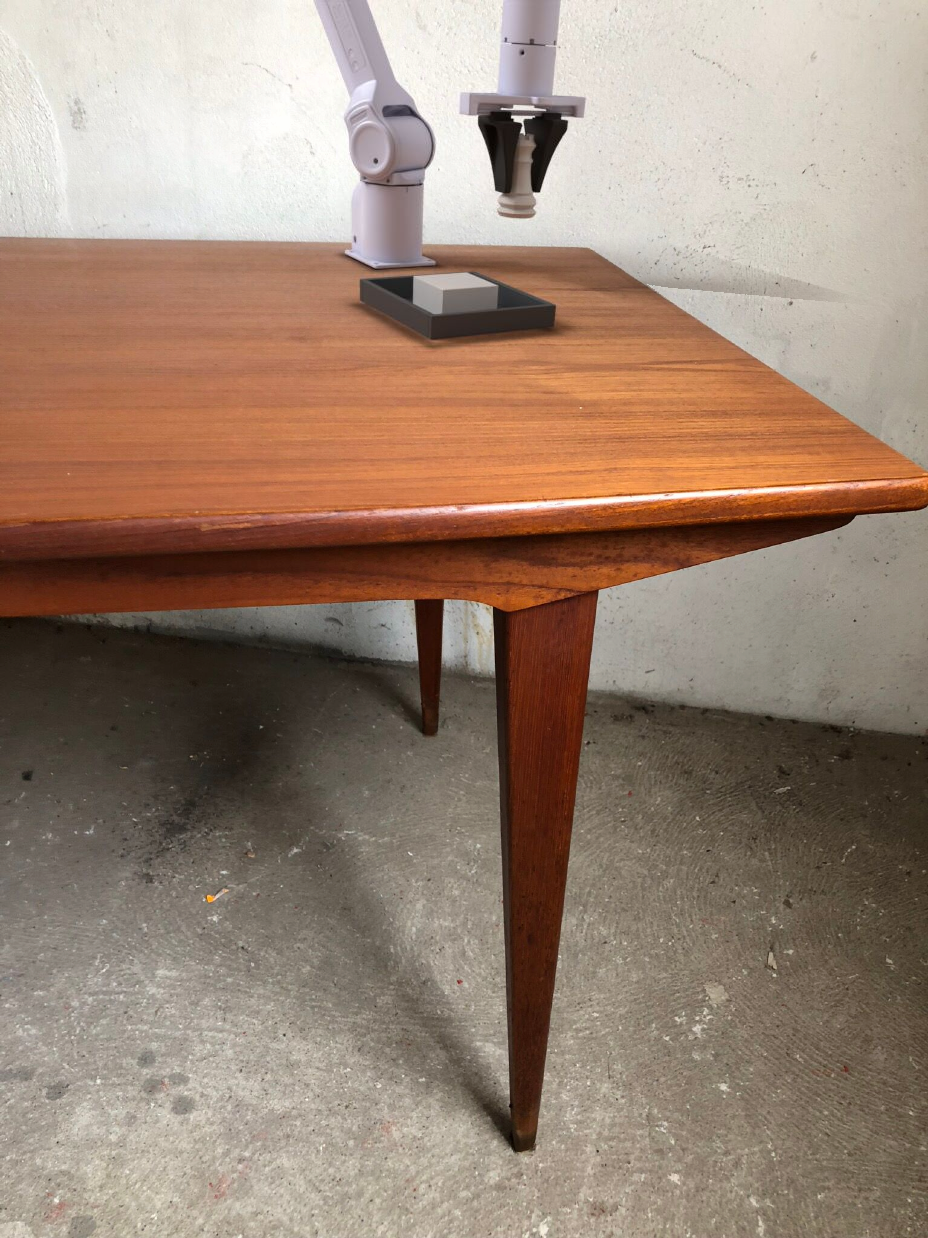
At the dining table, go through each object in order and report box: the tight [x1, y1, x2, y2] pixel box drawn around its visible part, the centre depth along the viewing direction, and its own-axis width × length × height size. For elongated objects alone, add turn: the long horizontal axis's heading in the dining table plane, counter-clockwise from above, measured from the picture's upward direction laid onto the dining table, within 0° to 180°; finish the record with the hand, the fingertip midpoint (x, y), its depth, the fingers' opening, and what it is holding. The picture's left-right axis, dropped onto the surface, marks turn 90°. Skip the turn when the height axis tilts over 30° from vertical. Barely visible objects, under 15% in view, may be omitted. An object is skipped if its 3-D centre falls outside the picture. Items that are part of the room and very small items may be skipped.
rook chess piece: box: [496, 132, 538, 220], centre depth 98 cm, size 4×4×8 cm
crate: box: [359, 270, 557, 341], centre depth 88 cm, size 15×13×3 cm
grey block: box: [413, 271, 498, 314], centre depth 87 cm, size 6×6×3 cm
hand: (517, 191), depth 99 cm, fingers closed on rook chess piece, 3 cm apart
